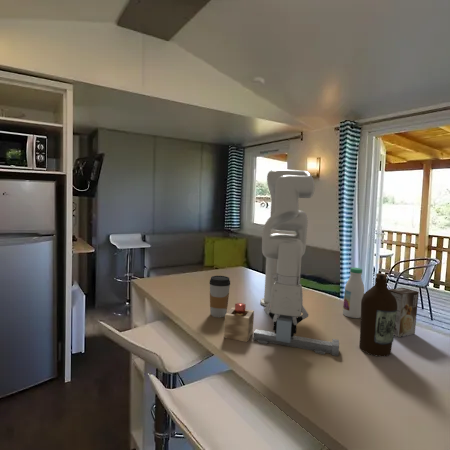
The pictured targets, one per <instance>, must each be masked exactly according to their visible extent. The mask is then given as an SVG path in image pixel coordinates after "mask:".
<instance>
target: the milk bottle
mask: <svg viewBox="0 0 450 450" xmlns="http://www.w3.org/2000/svg"><path fill="white" fill-rule="evenodd" d="M349 271H350V272H349V273H350V275H349V278H348V280H346V283H345V286H344V297H343V307H342V308H343V309H342V313H343V315H344V316H346V317H347V318H351V319H361V300H362V297H363V295H364V294H365V285H364V282H363V278H362V275H363V269H362V268H360V267H351V268H350V269H349Z"/></svg>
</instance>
